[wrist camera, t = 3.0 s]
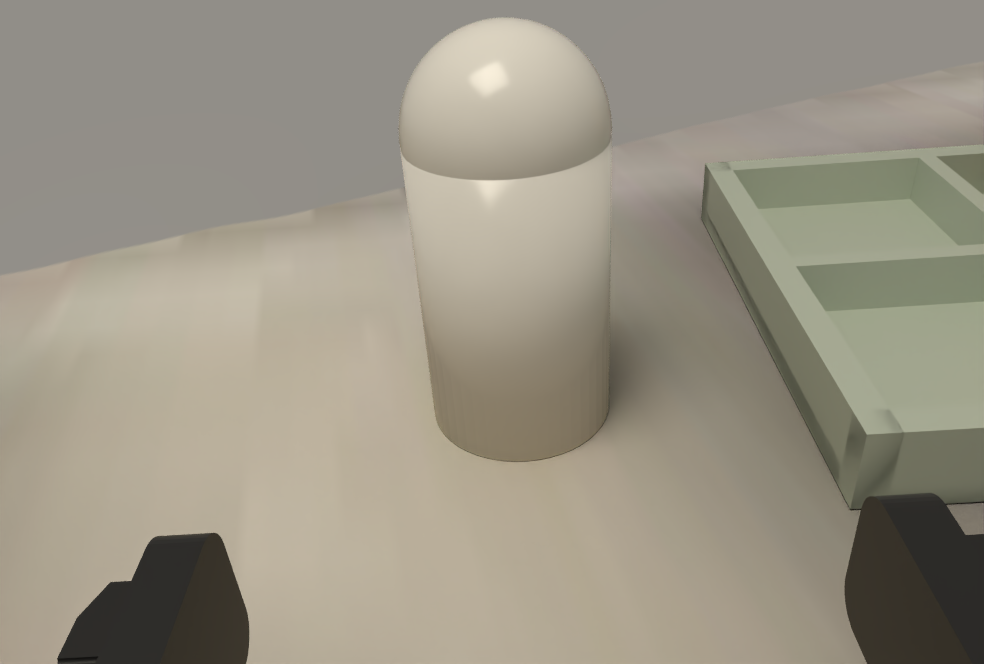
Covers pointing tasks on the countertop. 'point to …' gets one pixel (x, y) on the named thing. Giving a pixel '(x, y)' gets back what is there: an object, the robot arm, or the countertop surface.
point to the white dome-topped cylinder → (511, 236)
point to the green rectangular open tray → (868, 306)
